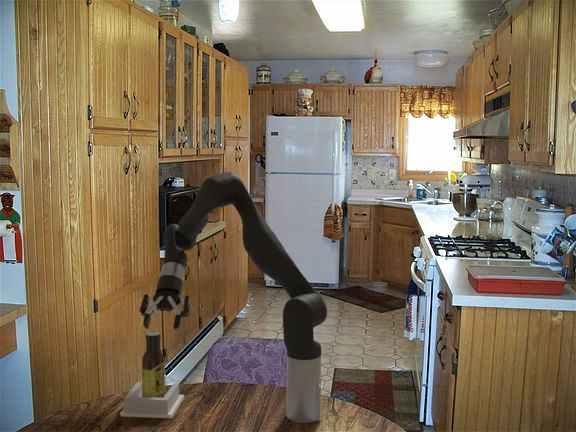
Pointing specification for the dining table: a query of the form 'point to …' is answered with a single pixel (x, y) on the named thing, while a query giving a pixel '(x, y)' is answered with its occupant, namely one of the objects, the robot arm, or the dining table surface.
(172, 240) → the robot arm
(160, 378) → the sauce bottle
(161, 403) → the white open tray
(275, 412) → the dining table surface
